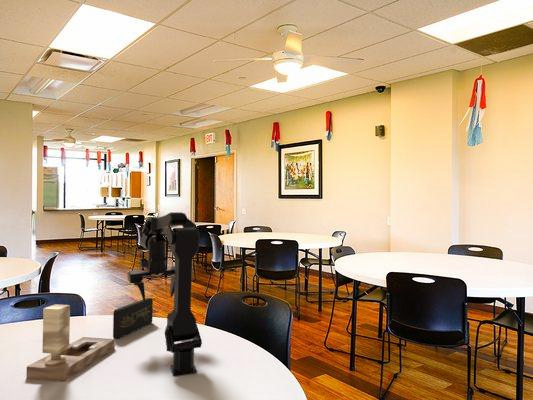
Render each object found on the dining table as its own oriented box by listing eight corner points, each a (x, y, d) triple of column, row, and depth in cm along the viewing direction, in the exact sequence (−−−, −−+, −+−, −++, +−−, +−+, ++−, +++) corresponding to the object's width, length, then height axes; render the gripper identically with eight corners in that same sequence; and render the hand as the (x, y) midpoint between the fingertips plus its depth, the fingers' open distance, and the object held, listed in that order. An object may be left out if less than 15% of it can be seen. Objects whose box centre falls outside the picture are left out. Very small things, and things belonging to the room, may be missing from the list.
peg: (57, 366, 105) (59, 309, 106) (40, 365, 106) (42, 308, 106) (70, 359, 110) (71, 304, 110) (53, 358, 111) (54, 304, 111)
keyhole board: (64, 381, 103) (64, 369, 103) (26, 378, 105) (26, 366, 105) (114, 348, 127) (114, 339, 127) (83, 346, 129) (83, 336, 129)
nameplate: (148, 322, 157) (148, 297, 157) (152, 323, 156) (152, 297, 157) (112, 339, 137) (113, 310, 137) (117, 339, 136) (118, 310, 137)
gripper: (177, 246, 146) (178, 288, 147) (124, 251, 137) (125, 296, 139) (186, 252, 136) (187, 297, 138) (129, 258, 127) (131, 305, 129)
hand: (157, 298), depth 136 cm, fingers open, 9 cm apart
